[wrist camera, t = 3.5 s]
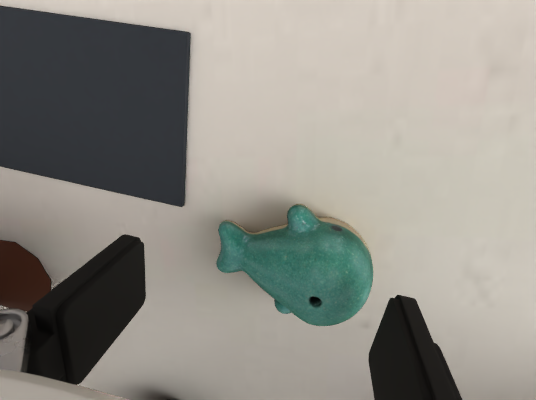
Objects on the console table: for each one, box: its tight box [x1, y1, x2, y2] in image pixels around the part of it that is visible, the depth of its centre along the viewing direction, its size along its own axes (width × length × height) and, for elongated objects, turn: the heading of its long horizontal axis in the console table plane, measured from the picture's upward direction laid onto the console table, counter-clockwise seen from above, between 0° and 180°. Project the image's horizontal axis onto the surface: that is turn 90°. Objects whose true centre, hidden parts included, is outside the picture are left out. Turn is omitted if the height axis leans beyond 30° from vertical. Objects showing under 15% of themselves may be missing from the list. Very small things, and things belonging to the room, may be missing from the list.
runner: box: [0, 6, 190, 207], centre depth 15 cm, size 20×8×1 cm, turn 82°
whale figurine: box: [216, 204, 373, 326], centre depth 14 cm, size 6×7×4 cm
